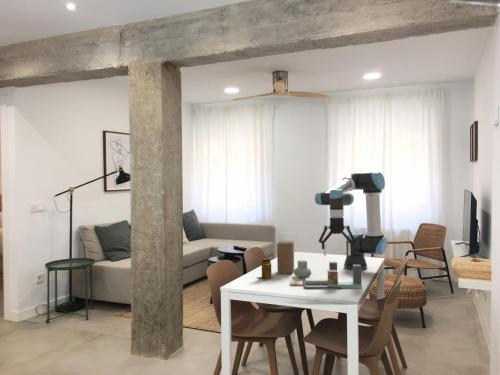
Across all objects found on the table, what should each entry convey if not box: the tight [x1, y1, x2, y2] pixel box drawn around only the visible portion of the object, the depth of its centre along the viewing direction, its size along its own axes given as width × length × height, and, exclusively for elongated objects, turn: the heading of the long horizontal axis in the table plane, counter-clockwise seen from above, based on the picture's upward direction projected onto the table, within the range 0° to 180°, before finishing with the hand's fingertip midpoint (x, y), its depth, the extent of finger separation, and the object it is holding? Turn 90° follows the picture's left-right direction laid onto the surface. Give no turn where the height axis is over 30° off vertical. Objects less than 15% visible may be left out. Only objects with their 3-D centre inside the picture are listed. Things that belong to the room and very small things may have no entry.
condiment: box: [256, 257, 275, 281], centre depth 256 cm, size 7×8×12 cm
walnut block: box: [327, 269, 339, 284], centre depth 233 cm, size 5×5×7 cm
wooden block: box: [276, 240, 295, 275], centre depth 271 cm, size 10×10×20 cm
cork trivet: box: [290, 280, 304, 287], centre depth 240 cm, size 7×7×1 cm
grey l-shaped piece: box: [327, 265, 363, 289], centre depth 233 cm, size 18×6×12 cm, turn 86°
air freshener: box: [293, 259, 312, 279], centre depth 258 cm, size 11×8×10 cm
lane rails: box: [302, 278, 342, 290], centre depth 238 cm, size 20×18×1 cm
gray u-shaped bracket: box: [304, 261, 338, 283], centre depth 243 cm, size 18×6×12 cm, turn 86°
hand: (337, 255), depth 233 cm, fingers open, 13 cm apart
